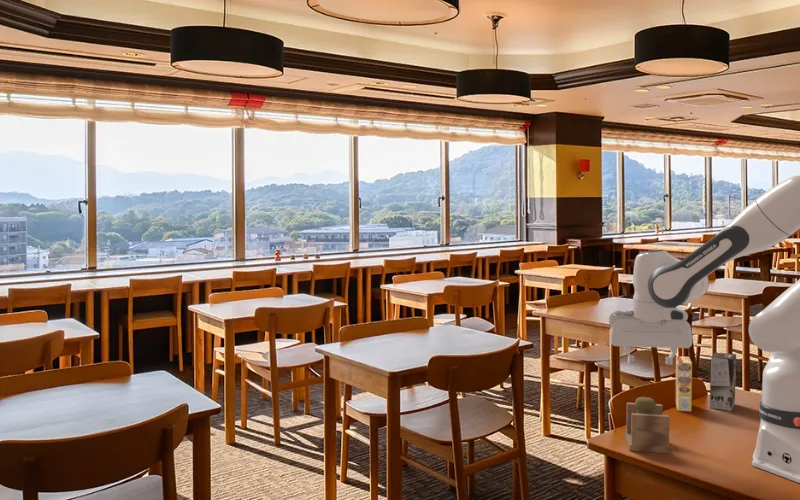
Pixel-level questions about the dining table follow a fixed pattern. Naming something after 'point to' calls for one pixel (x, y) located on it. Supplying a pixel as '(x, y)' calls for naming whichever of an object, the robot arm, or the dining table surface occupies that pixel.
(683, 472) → the dining table surface
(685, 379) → the candy box
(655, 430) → the caddy
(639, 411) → the cork
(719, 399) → the coffee box
